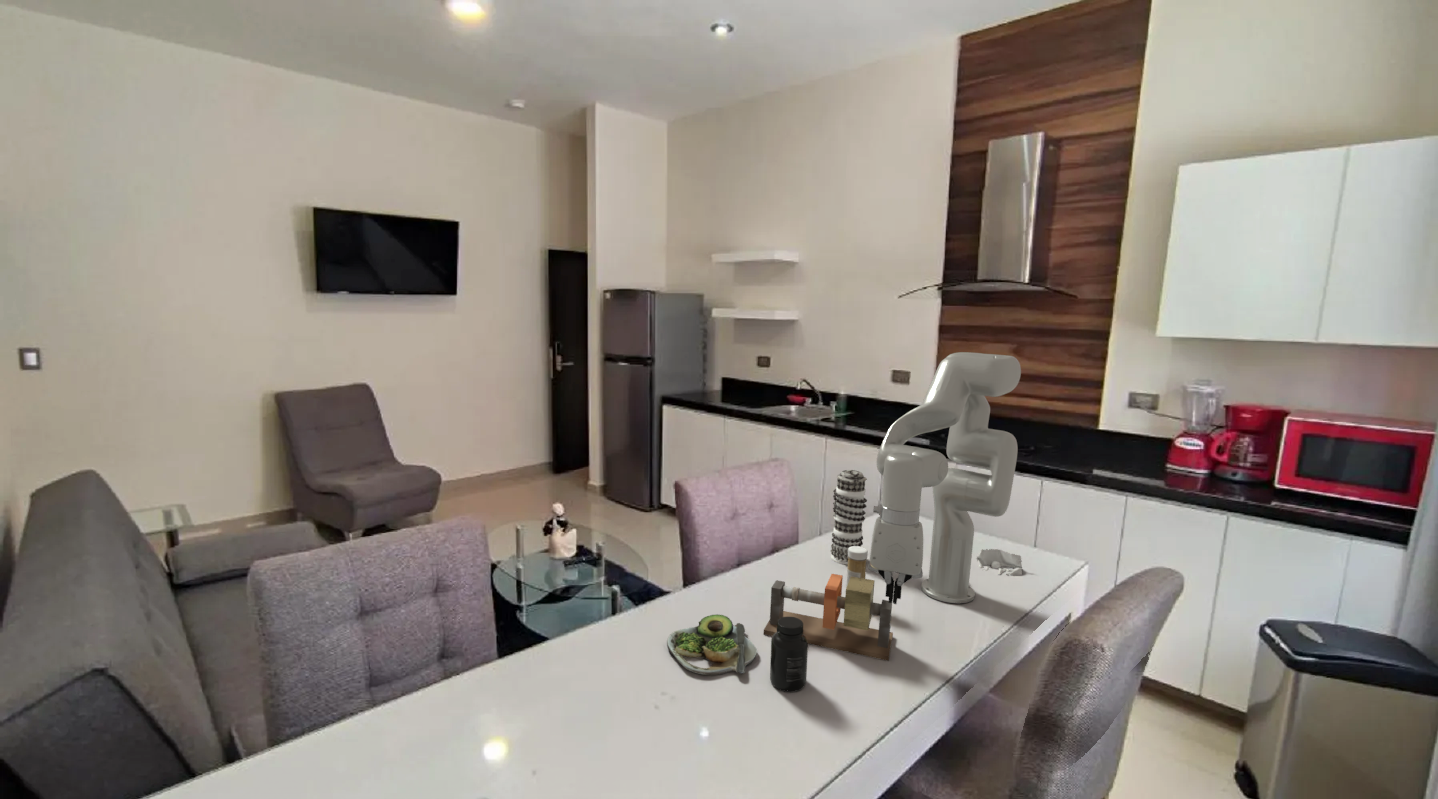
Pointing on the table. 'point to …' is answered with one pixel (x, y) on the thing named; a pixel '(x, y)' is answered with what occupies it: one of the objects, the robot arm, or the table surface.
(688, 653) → the avocado toast plate
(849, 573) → the sprinkles bottle
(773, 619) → the machine model on base
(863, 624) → the sleeve
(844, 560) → the decorative candle
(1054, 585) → the table surface
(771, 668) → the supplement bottle
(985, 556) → the grey relief sculpture
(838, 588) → the orange rectangular slab
